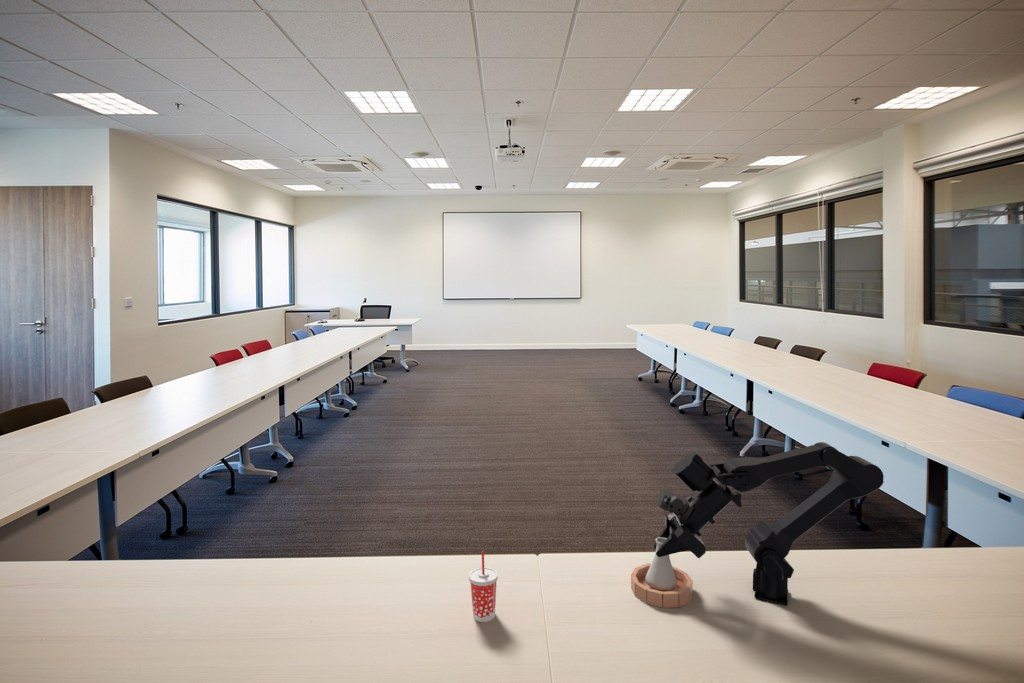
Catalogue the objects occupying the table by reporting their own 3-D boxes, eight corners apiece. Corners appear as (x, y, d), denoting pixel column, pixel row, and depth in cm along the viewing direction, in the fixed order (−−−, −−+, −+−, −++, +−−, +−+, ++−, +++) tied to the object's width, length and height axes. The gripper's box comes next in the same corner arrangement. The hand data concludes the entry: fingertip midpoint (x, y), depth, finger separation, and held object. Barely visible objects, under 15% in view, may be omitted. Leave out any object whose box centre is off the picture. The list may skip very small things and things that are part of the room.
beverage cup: (482, 604, 116) (480, 542, 115) (504, 613, 112) (503, 549, 111) (463, 617, 111) (462, 553, 110) (486, 627, 107) (485, 561, 106)
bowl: (696, 583, 122) (696, 571, 122) (685, 613, 111) (685, 599, 111) (640, 571, 128) (640, 559, 128) (624, 598, 117) (624, 585, 117)
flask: (673, 595, 115) (675, 550, 114) (640, 585, 118) (642, 542, 117) (680, 579, 121) (682, 537, 120) (649, 571, 124) (650, 530, 124)
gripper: (671, 466, 126) (625, 510, 129) (689, 494, 108) (634, 546, 110) (706, 498, 126) (659, 542, 128) (729, 532, 108) (674, 583, 110)
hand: (656, 551), depth 119 cm, fingers closed on flask, 3 cm apart
